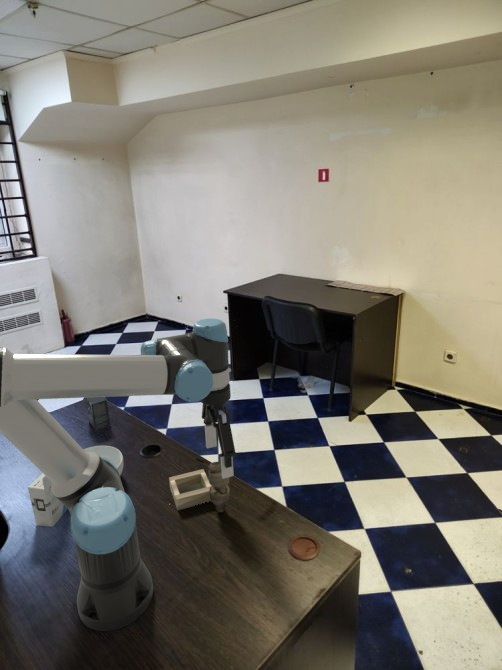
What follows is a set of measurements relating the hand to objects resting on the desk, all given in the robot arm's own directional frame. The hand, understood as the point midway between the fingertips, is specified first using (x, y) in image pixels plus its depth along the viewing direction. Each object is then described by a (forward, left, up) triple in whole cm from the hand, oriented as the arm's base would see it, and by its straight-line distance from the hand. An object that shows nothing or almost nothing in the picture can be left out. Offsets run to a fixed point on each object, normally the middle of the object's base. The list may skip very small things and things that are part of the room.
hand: (219, 460), depth 112 cm
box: (+61, +27, -16) cm, 69 cm away
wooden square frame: (+10, +6, -16) cm, 19 cm away
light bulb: (0, 0, -16) cm, 16 cm away
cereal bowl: (+26, +30, -16) cm, 43 cm away
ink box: (+16, +41, -16) cm, 47 cm away
